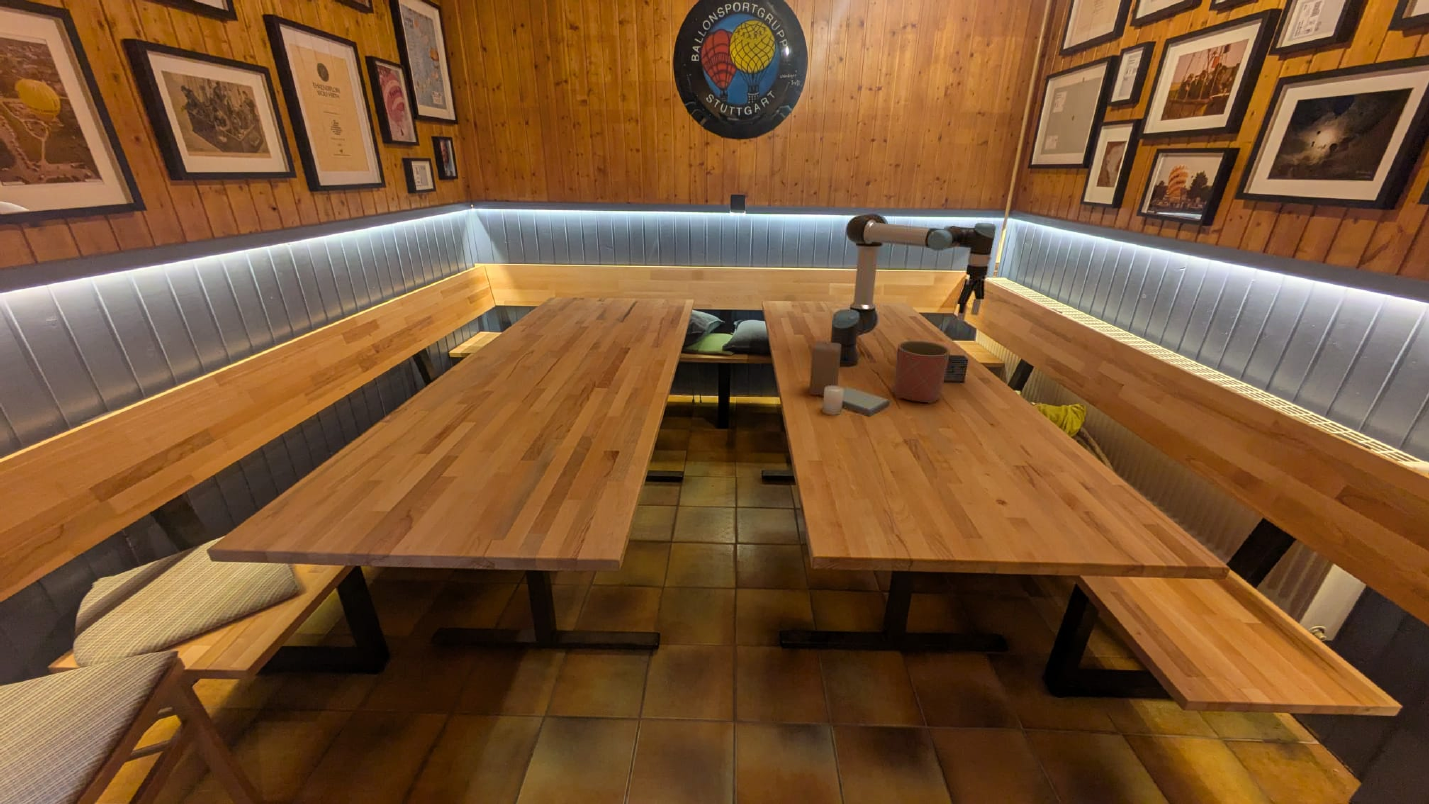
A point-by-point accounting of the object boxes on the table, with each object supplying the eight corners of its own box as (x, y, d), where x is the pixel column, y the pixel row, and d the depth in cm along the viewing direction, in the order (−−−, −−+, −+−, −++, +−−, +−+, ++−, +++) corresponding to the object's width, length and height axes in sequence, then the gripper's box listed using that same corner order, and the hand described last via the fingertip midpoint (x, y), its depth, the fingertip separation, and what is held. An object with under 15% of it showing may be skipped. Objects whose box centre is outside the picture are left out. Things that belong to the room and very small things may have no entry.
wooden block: (837, 389, 227) (841, 342, 219) (833, 398, 219) (838, 350, 211) (812, 386, 230) (816, 340, 222) (808, 395, 222) (812, 347, 214)
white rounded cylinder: (818, 411, 208) (820, 389, 204) (829, 405, 212) (831, 384, 209) (834, 416, 203) (837, 394, 200) (845, 411, 208) (847, 389, 204)
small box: (960, 377, 241) (964, 354, 237) (964, 383, 235) (969, 359, 231) (934, 376, 242) (939, 353, 238) (939, 382, 236) (943, 358, 232)
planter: (943, 391, 227) (951, 344, 219) (939, 408, 211) (948, 358, 203) (894, 383, 234) (901, 338, 226) (887, 400, 218) (894, 351, 210)
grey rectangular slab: (826, 401, 216) (827, 395, 215) (846, 392, 225) (847, 386, 224) (870, 416, 204) (870, 410, 203) (889, 405, 213) (889, 399, 212)
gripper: (974, 269, 207) (963, 325, 215) (1000, 262, 223) (989, 314, 231) (954, 267, 211) (944, 321, 220) (981, 260, 228) (971, 310, 236)
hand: (967, 317), depth 226 cm, fingers open, 13 cm apart
